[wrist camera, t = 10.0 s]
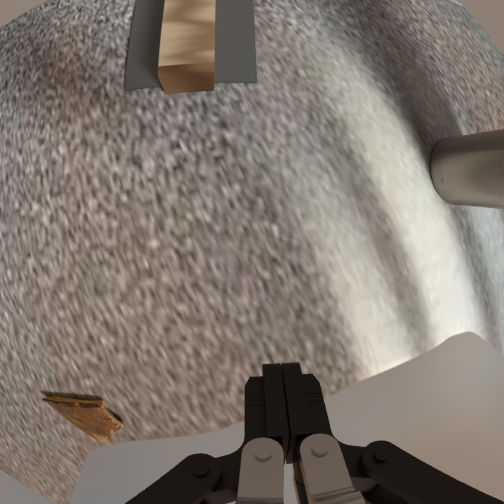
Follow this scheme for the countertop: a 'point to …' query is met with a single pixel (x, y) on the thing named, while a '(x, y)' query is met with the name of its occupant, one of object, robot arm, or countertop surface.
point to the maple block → (187, 46)
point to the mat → (226, 43)
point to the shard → (87, 416)
